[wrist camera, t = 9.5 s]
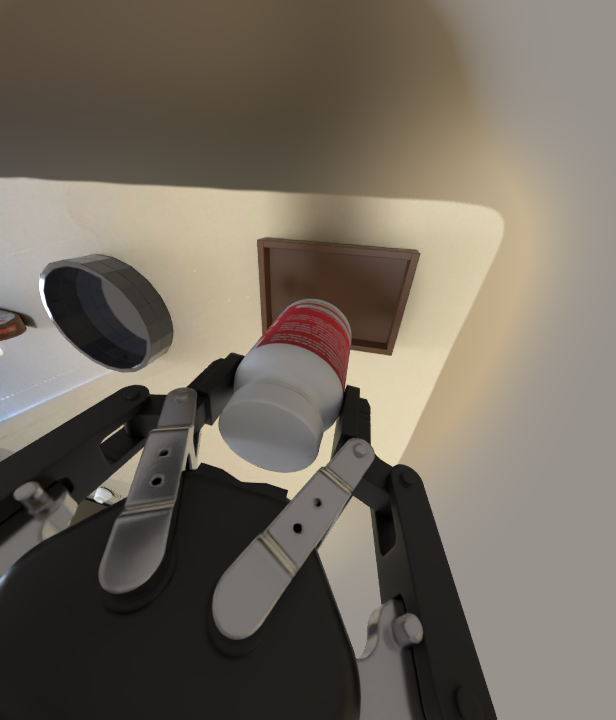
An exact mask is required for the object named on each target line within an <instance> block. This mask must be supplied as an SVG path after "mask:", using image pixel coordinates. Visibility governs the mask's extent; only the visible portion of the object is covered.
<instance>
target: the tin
mask: <svg viewBox="0 0 616 720" xmlns="http://www.w3.org/2000/svg"><path fill="white" fill-rule="evenodd" d="M26 329H27V328H26V326H25V325H24V323H23V321H22V319H21V317H20V316H19V315H18V314H16V313H13V312H9V311H5V310H1V309H0V341H2V340H7V339H10V338H13V337H16V336H18V335H21V334H23V333H24V332H25V331H26Z"/></svg>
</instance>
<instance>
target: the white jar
mask: <svg viewBox="0 0 616 720" xmlns="http://www.w3.org/2000/svg"><path fill="white" fill-rule="evenodd" d="M112 497H113V495H112V493H111V492H110V491H109V490H107V489H104V488H98V489H97V492H96V494H95V497H94V499H95V500H96V501H97V502H99V503H103V502H104V501H107V500H109V499H110V498H112Z"/></svg>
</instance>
